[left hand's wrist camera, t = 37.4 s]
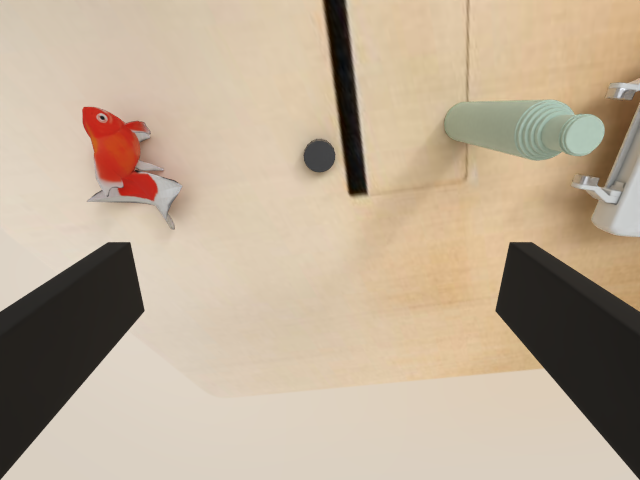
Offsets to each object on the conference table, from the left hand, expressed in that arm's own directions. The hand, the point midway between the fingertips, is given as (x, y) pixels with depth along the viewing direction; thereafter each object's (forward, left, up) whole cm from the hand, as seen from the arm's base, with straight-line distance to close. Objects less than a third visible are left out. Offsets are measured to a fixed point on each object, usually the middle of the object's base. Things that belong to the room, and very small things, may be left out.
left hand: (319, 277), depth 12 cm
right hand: (+25, +16, -28) cm, 41 cm away
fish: (-18, -12, -34) cm, 40 cm away
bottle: (+14, +12, -34) cm, 39 cm away
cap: (0, 0, -32) cm, 32 cm away
